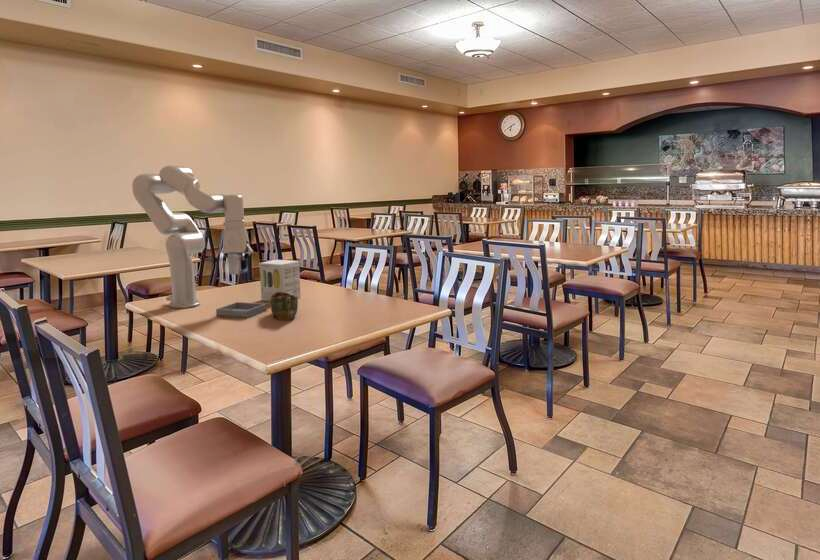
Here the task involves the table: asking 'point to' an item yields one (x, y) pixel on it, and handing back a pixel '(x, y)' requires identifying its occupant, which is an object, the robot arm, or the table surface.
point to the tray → (241, 310)
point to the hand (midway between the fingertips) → (238, 268)
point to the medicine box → (235, 264)
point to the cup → (284, 305)
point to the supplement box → (279, 278)
